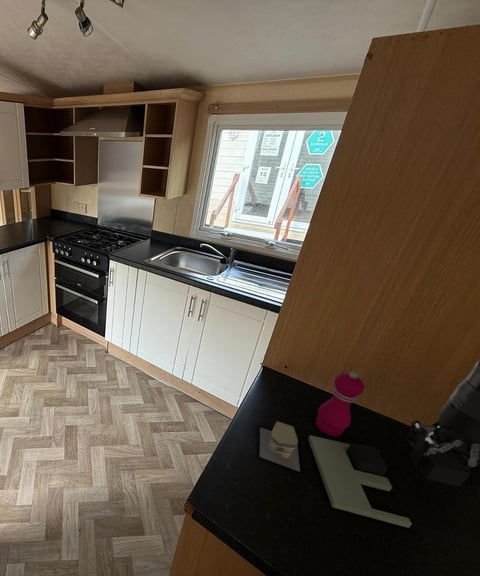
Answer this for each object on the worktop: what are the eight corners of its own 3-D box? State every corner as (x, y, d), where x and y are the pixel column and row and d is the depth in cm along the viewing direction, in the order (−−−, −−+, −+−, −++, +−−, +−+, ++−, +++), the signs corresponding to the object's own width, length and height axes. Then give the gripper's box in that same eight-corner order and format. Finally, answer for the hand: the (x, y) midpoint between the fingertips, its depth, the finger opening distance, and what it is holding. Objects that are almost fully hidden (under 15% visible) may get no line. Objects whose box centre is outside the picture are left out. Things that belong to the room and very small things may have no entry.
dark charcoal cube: (370, 458, 79) (376, 448, 77) (381, 478, 74) (388, 468, 73) (345, 452, 80) (351, 442, 79) (354, 472, 76) (361, 461, 74)
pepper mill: (309, 426, 88) (334, 371, 79) (317, 412, 92) (341, 359, 83) (340, 443, 83) (370, 386, 74) (347, 428, 87) (375, 372, 78)
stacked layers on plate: (260, 427, 87) (264, 413, 85) (296, 439, 84) (302, 425, 81) (259, 457, 79) (264, 442, 77) (300, 472, 76) (306, 457, 73)
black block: (441, 461, 65) (451, 448, 63) (459, 486, 60) (471, 473, 58) (409, 454, 66) (418, 441, 64) (425, 478, 61) (435, 465, 60)
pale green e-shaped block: (369, 452, 80) (371, 448, 80) (408, 528, 65) (412, 524, 64) (307, 438, 84) (309, 435, 83) (331, 507, 69) (334, 503, 68)
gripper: (515, 401, 57) (465, 461, 64) (419, 384, 60) (382, 443, 68) (555, 435, 50) (495, 498, 58) (445, 414, 54) (401, 475, 61)
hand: (434, 468), depth 63 cm, fingers closed on black block, 5 cm apart
